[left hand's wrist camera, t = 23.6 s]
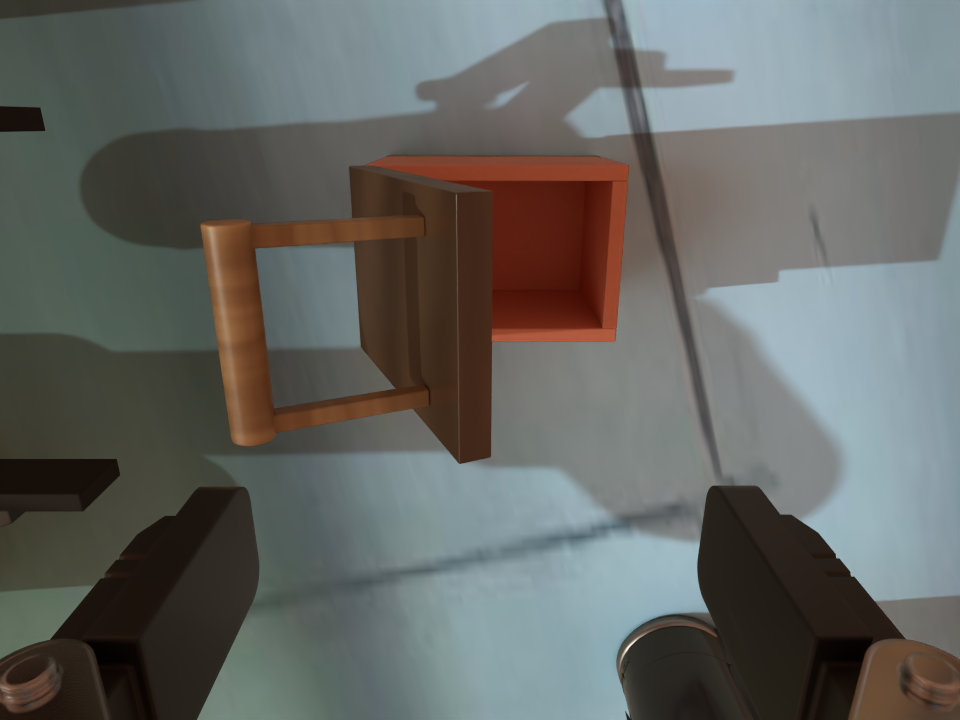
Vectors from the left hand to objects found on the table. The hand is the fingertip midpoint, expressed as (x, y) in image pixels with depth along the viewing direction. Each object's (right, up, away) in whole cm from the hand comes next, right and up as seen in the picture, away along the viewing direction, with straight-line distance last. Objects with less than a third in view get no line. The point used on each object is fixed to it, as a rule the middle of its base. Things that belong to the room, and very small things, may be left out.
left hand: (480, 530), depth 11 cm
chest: (+1, +12, +32) cm, 34 cm away
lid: (-2, +6, +17) cm, 18 cm away
